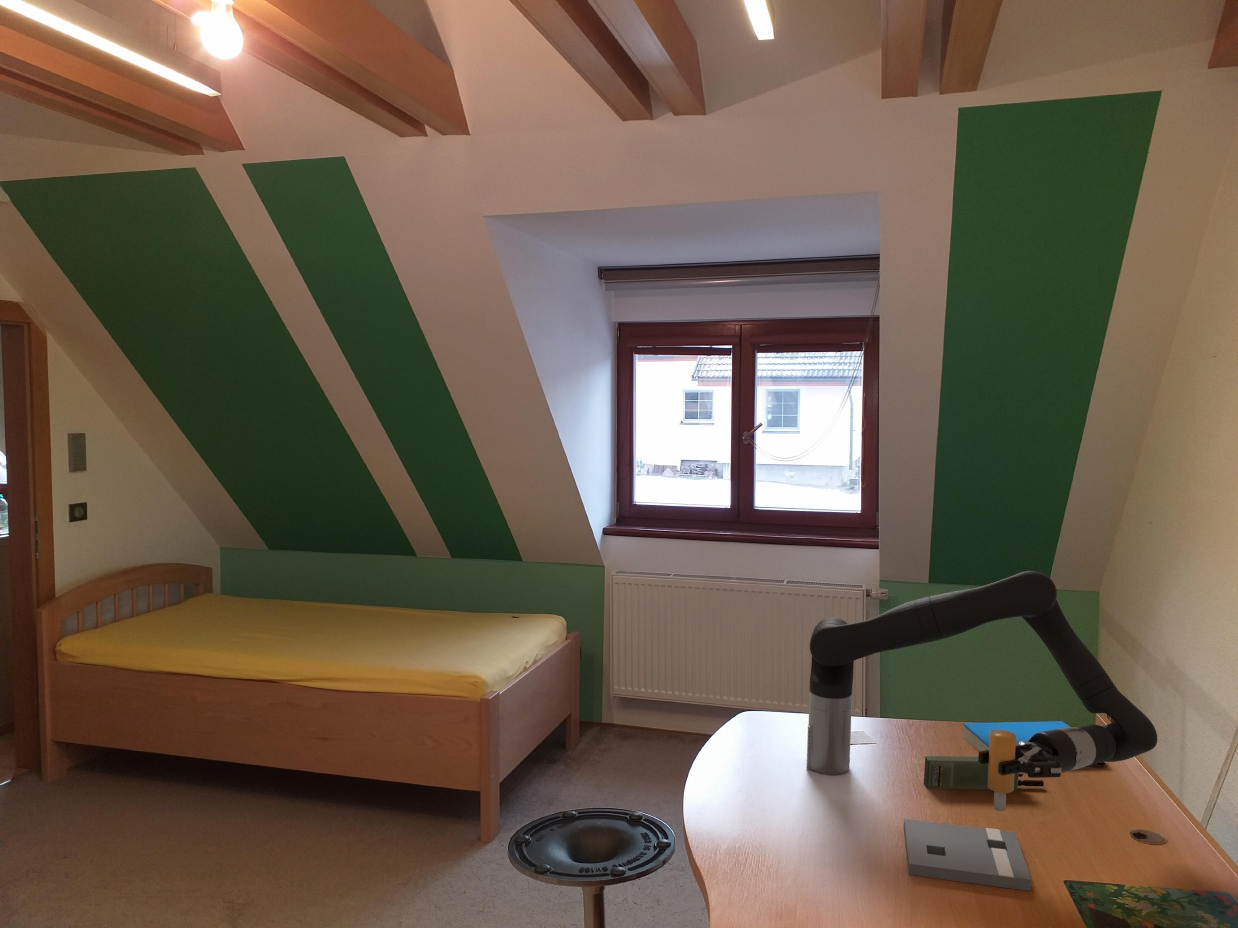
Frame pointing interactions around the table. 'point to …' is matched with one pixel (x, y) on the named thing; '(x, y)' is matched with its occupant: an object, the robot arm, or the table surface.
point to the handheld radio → (962, 774)
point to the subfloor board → (965, 854)
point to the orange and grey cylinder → (999, 751)
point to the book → (1023, 730)
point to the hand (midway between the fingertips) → (990, 763)
